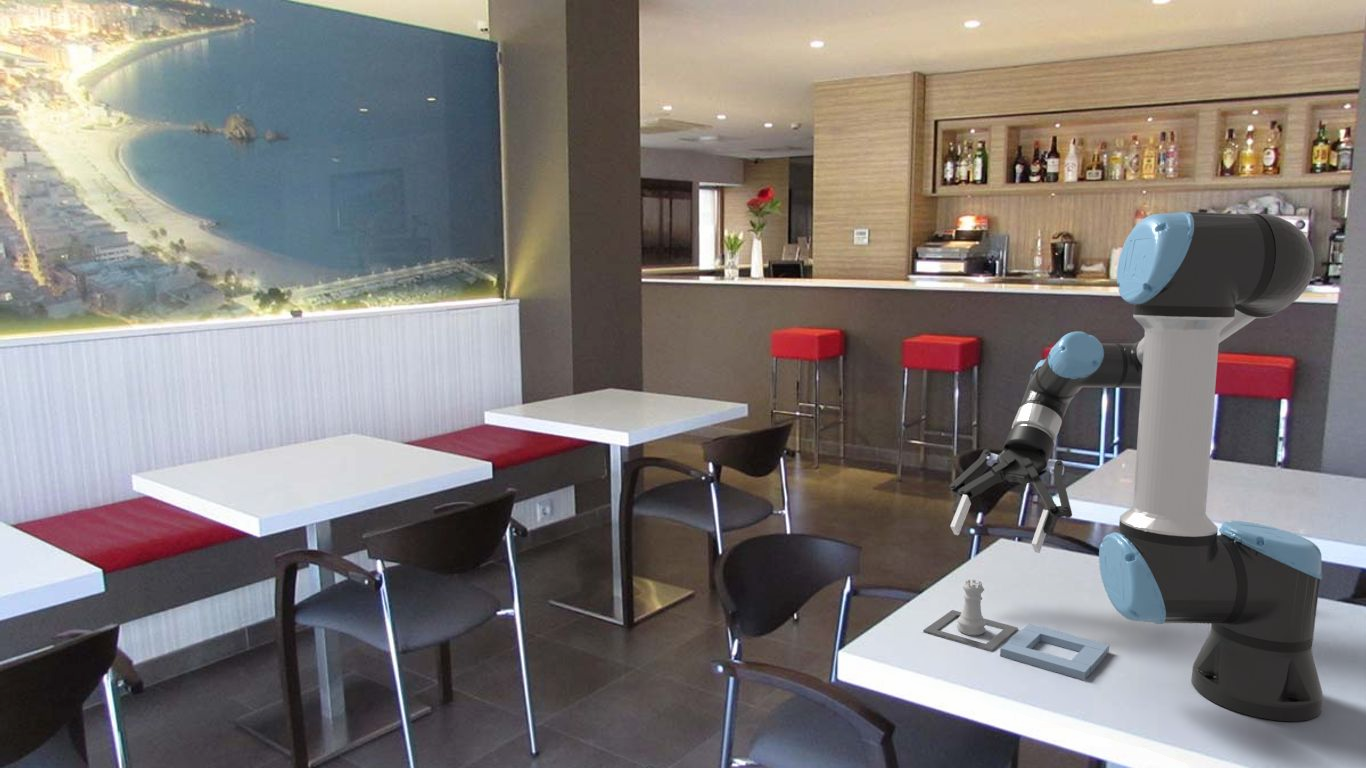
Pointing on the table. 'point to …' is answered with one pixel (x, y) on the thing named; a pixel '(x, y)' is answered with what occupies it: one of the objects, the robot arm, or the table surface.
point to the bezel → (988, 646)
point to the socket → (1077, 667)
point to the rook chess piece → (972, 610)
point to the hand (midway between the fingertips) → (993, 539)
